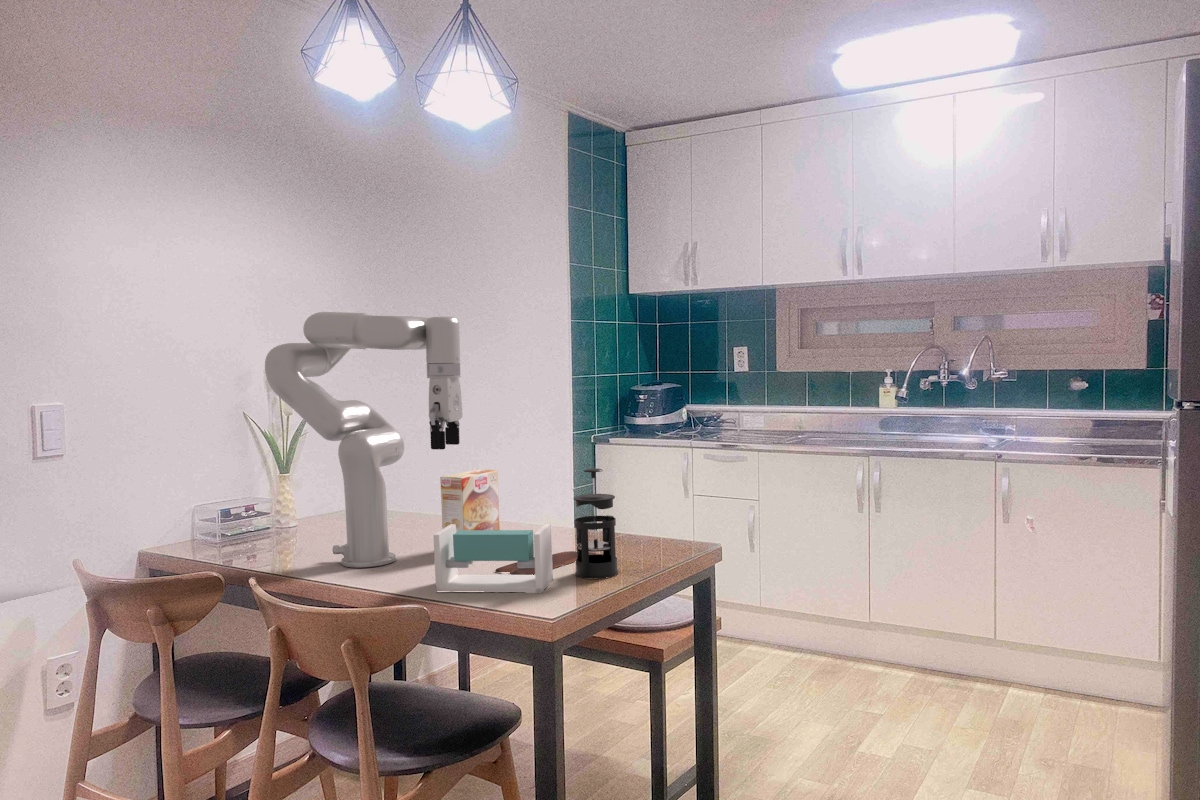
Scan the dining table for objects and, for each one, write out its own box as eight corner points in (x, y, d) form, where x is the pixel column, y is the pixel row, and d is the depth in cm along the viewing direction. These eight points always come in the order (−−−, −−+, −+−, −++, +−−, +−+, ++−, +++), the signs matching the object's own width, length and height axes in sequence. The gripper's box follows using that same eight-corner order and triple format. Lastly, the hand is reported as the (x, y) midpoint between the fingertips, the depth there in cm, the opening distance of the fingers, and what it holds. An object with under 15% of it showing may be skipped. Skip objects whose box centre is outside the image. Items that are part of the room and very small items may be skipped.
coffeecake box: (465, 558, 215) (462, 477, 214) (442, 556, 219) (438, 476, 218) (501, 546, 228) (498, 469, 227) (479, 544, 232) (476, 468, 231)
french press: (602, 581, 189) (598, 472, 188) (565, 577, 194) (561, 471, 193) (630, 569, 199) (626, 465, 198) (594, 565, 204) (590, 464, 203)
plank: (533, 556, 190) (532, 530, 189) (529, 560, 185) (528, 534, 185) (460, 555, 192) (459, 530, 192) (454, 560, 188) (452, 534, 187)
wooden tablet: (571, 546, 221) (601, 545, 215) (572, 555, 221) (603, 555, 215) (491, 568, 201) (522, 569, 195) (492, 578, 201) (523, 579, 195)
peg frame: (436, 592, 185) (433, 534, 184) (452, 579, 196) (450, 524, 195) (541, 593, 182) (539, 534, 181) (553, 579, 192) (550, 523, 192)
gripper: (446, 372, 195) (448, 451, 196) (471, 370, 212) (473, 442, 213) (413, 372, 196) (415, 451, 197) (440, 370, 213) (442, 442, 214)
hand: (445, 446), depth 205 cm, fingers open, 9 cm apart
